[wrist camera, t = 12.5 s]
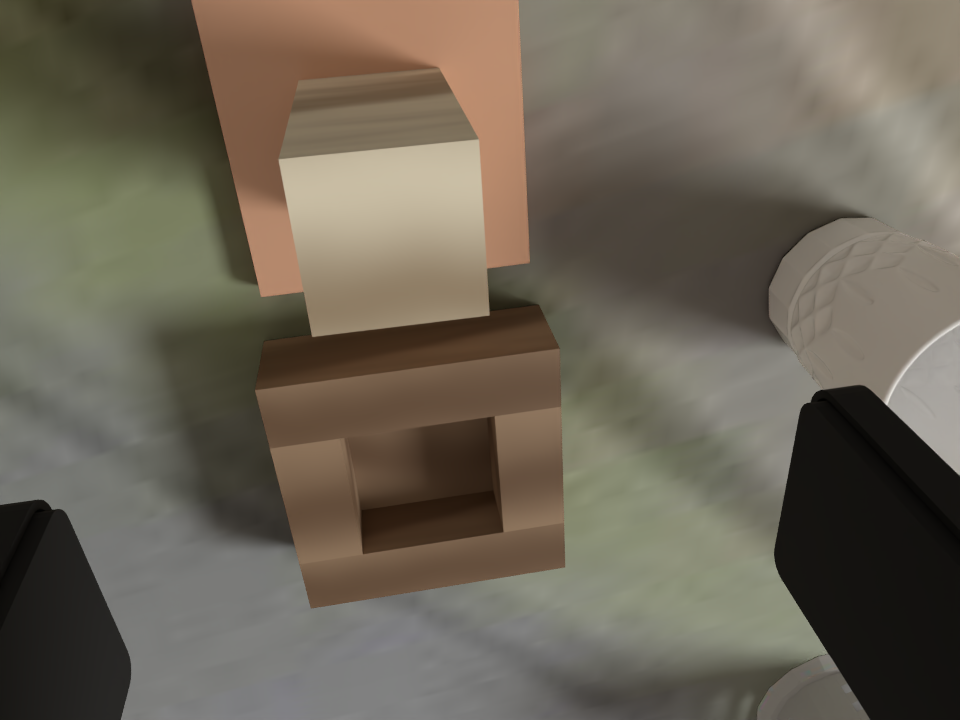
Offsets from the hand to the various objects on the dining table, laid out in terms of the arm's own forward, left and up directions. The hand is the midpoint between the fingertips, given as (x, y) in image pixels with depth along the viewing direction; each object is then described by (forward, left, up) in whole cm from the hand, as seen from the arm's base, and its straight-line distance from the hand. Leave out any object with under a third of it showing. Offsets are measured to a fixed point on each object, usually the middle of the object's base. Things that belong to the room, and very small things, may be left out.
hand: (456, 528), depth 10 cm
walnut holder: (+15, 0, -23) cm, 28 cm away
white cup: (+10, +20, -23) cm, 32 cm away
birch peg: (+1, 0, -22) cm, 22 cm away
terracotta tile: (+1, 0, -23) cm, 23 cm away
